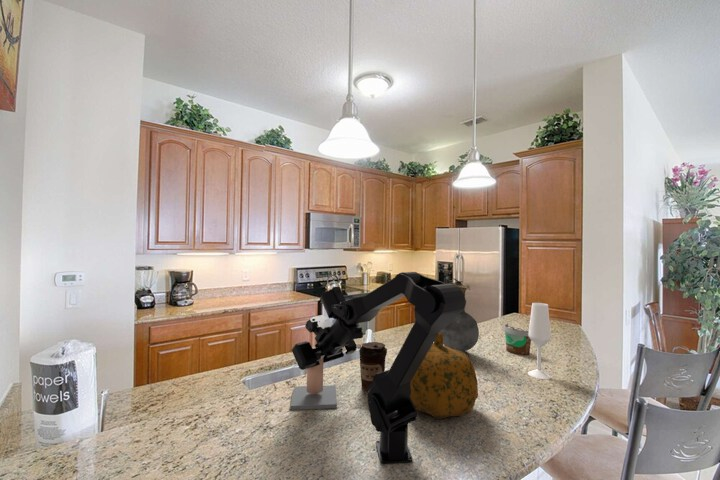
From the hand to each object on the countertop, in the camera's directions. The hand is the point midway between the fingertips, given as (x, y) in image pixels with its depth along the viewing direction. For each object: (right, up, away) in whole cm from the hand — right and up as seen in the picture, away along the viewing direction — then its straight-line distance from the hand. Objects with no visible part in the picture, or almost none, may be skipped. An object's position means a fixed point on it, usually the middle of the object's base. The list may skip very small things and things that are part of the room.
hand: (312, 364), depth 88 cm
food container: (+77, -11, +41) cm, 87 cm away
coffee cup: (+17, -10, +6) cm, 20 cm away
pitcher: (+52, -11, +39) cm, 65 cm away
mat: (+1, -9, -1) cm, 9 cm away
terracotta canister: (+1, -7, -1) cm, 7 cm away
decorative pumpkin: (+34, -10, -4) cm, 36 cm away
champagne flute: (+74, -11, +18) cm, 77 cm away
